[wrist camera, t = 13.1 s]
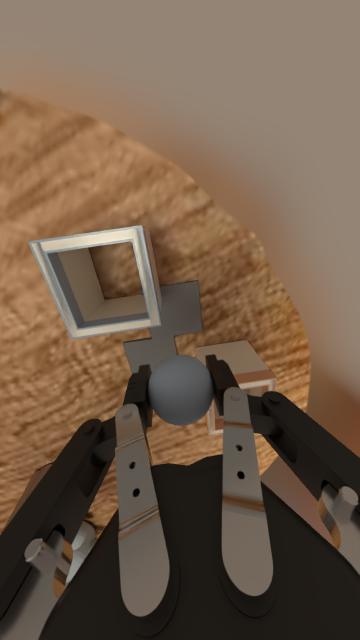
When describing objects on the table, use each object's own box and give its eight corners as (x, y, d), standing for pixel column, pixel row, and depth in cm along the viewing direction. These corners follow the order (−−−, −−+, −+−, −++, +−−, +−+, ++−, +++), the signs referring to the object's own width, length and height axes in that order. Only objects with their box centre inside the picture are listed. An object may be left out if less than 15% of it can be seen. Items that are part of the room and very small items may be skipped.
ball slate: (155, 392, 15) (153, 447, 11) (144, 347, 14) (137, 393, 10) (208, 384, 16) (223, 435, 12) (204, 338, 14) (221, 380, 10)
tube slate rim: (100, 306, 24) (71, 339, 16) (77, 238, 20) (28, 241, 13) (162, 297, 24) (161, 325, 16) (150, 227, 20) (141, 225, 13)
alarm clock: (113, 538, 51) (90, 493, 45) (103, 591, 43) (73, 545, 37) (52, 549, 52) (19, 505, 45) (30, 603, 44) (-14, 560, 37)
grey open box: (198, 387, 30) (208, 435, 23) (193, 347, 27) (203, 388, 20) (246, 380, 30) (271, 426, 23) (247, 338, 27) (277, 377, 20)
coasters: (135, 380, 29) (134, 382, 29) (108, 293, 23) (107, 294, 23) (205, 369, 29) (206, 371, 29) (197, 280, 23) (197, 281, 23)
